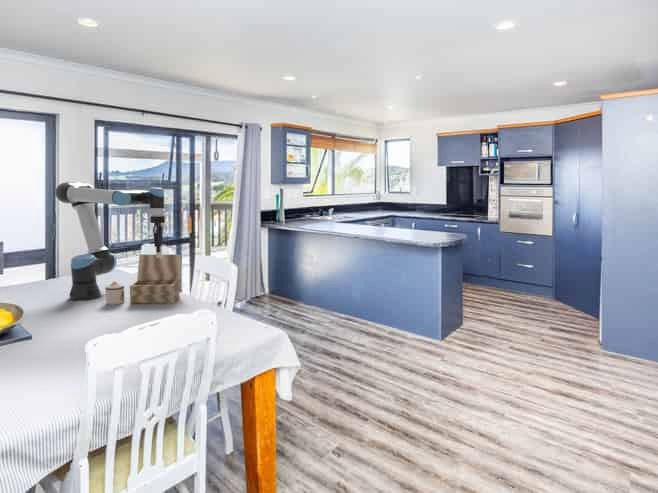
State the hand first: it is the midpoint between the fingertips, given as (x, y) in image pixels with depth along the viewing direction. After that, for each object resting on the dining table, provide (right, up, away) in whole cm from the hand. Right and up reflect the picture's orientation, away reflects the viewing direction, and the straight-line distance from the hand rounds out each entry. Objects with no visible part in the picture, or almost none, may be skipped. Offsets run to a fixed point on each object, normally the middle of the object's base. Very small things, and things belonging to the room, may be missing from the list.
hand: (159, 257), depth 240 cm
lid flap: (0, -5, +1) cm, 5 cm away
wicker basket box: (+1, -23, -6) cm, 24 cm away
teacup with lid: (-19, -24, -11) cm, 32 cm away
